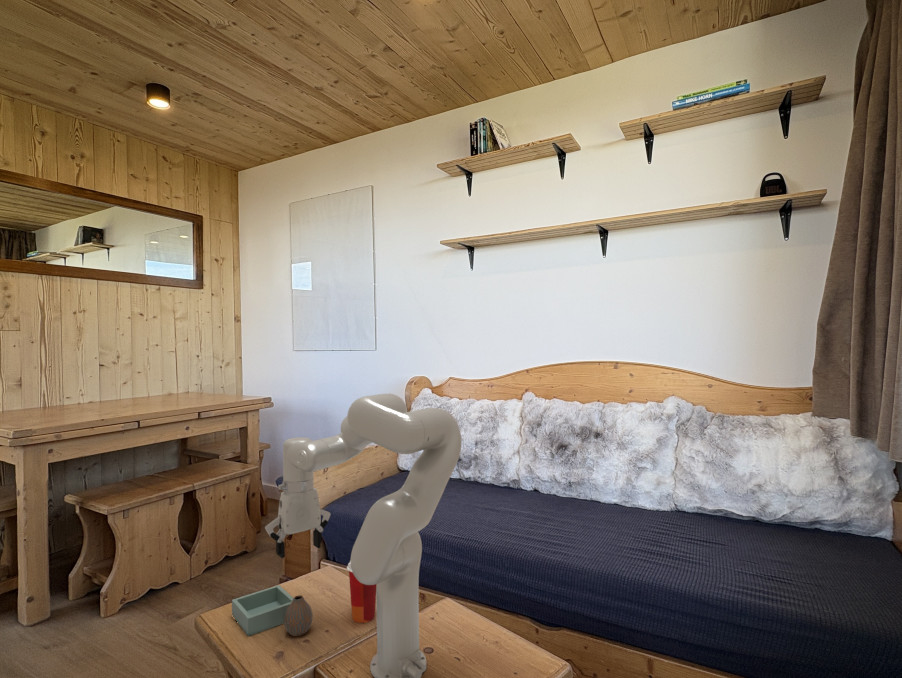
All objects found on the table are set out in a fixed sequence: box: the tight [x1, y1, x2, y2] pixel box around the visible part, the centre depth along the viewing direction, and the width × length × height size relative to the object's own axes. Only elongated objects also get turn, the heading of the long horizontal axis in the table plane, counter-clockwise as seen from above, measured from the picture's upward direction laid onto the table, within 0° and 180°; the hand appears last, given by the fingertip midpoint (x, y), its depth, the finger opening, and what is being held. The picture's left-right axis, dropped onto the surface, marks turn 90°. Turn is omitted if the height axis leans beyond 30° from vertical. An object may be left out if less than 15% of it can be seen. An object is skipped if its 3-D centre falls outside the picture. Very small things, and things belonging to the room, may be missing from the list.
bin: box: [231, 584, 294, 638], centre depth 137 cm, size 13×13×4 cm
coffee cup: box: [346, 560, 377, 624], centre depth 136 cm, size 8×8×15 cm
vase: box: [284, 594, 313, 637], centre depth 130 cm, size 7×7×9 cm
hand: (299, 551), depth 132 cm, fingers open, 9 cm apart
